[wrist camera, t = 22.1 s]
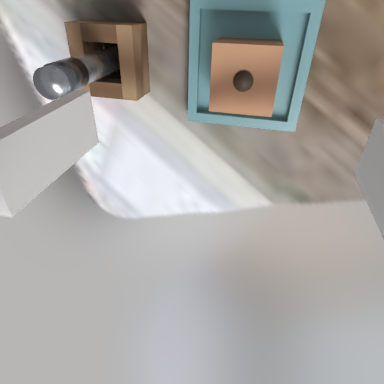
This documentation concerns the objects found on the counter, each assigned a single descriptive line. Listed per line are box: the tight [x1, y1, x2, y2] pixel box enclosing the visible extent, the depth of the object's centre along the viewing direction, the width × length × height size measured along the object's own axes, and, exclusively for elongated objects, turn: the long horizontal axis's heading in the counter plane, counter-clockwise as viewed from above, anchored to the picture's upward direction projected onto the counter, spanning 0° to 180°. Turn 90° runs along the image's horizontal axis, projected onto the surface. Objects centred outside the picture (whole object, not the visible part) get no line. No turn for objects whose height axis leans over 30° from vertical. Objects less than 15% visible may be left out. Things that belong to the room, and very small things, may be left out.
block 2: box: [209, 37, 284, 117], centre depth 28 cm, size 6×6×5 cm
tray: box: [188, 0, 326, 132], centre depth 30 cm, size 12×12×2 cm
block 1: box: [64, 20, 150, 101], centre depth 32 cm, size 7×7×4 cm
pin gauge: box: [33, 45, 120, 100], centre depth 28 cm, size 3×3×13 cm
